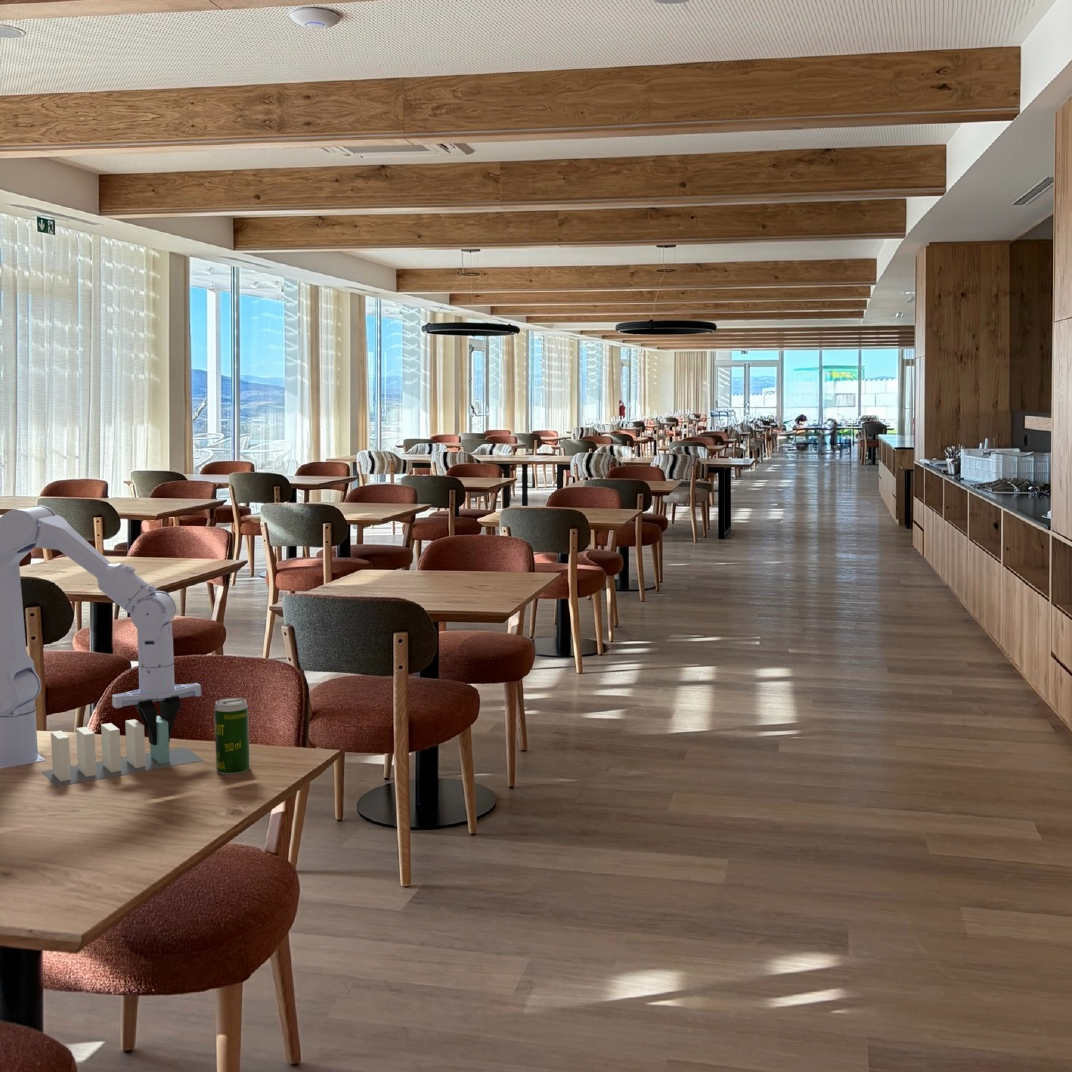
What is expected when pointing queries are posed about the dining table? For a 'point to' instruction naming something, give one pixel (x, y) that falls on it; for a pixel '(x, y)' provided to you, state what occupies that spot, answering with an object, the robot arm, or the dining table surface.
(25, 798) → the dining table surface
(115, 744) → the ivory domino
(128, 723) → the ivory domino
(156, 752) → the teal domino
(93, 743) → the ivory domino
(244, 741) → the green drink can
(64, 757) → the ivory domino
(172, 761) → the charcoal mat
